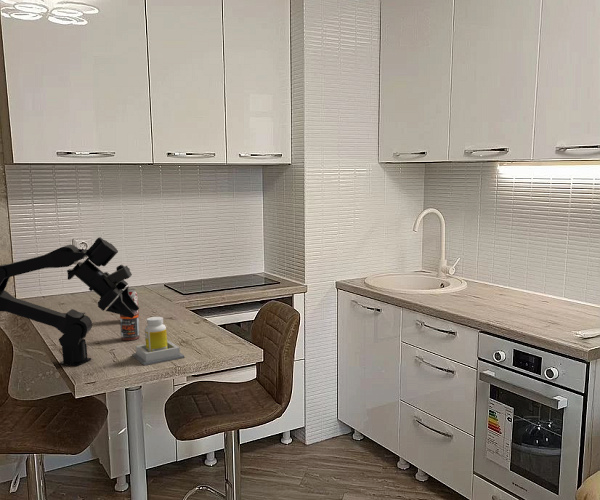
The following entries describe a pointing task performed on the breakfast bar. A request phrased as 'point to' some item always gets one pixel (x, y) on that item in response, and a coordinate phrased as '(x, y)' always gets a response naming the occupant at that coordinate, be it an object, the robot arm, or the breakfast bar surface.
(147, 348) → the pill bottle
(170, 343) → the socket block
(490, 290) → the breakfast bar surface
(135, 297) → the soda can
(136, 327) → the supplement bottle
